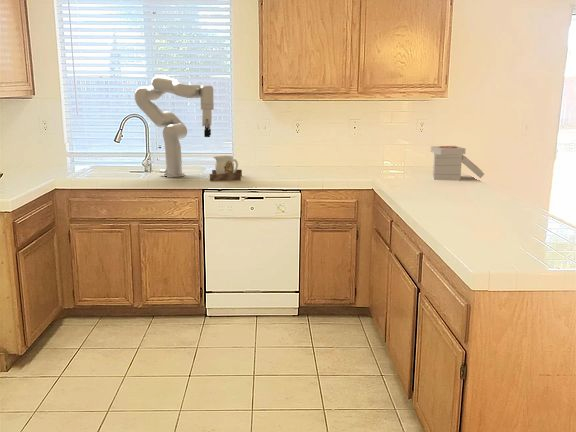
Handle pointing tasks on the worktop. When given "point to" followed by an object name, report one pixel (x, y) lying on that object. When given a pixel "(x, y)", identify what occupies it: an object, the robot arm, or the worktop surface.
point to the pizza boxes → (451, 163)
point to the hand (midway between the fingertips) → (207, 136)
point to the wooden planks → (226, 176)
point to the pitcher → (225, 165)
